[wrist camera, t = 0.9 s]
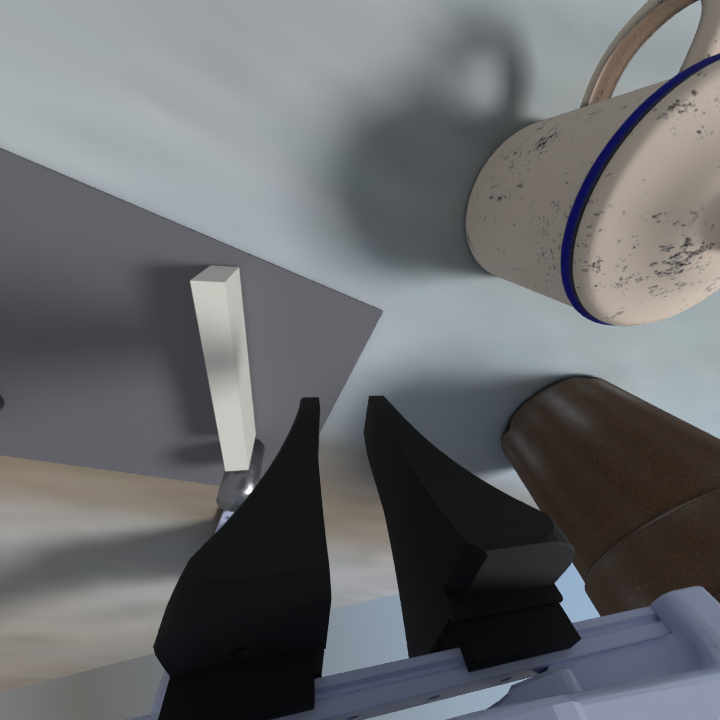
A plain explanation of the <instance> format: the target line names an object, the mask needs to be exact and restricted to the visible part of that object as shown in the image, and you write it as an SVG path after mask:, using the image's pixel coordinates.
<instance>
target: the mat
mask: <svg viewBox="0 0 720 720" xmlns="http://www.w3.org/2000/svg"><path fill="white" fill-rule="evenodd" d="M211 265H215V266H230V267H239V271H240V281H241V291H242V301H243V311H244V321H245V331H246V341H247V351H248V361H249V371H250V381H251V391H252V400H253V410H254V420H255V430H256V436H255V438H256V439H258V440H260V441H261V442H262V443H263V444H264V447H265V450H264V457H263V463H262V469H261V476H260V479H261V478H262V477H263V475H264V474H265V473H266V471H267V470H268V468H269V467H270V465H271V464H272V462H273V460H274V459H275V457H276V455H277V454H278V452H279V450H280V448H281V447H282V445H283V443H284V441H285V439H286V437H287V436H288V433H289V431H290V429H291V427H292V425H293V422H294V420H295V418H296V415H297V412H298V409H299V405H300V400H301V399H302V398H303V397H319V402H320V426H319V433H320V431H321V429H322V427H323V425H324V423H325V421H326V419H327V418H328V416H329V414H330V412H331V410H332V408H333V406H334V404H335V402H336V400H337V399H338V397H339V395H340V393H341V391H342V389H343V387H344V385H345V383H346V381H347V379H348V378H349V376H350V374H351V372H352V370H353V368H354V366H355V364H356V362H357V360H358V358H359V357H360V355H361V353H362V351H363V349H364V347H365V345H366V343H367V341H368V339H369V338H370V336H371V334H372V332H373V330H374V328H375V326H376V324H377V322H378V320H379V318H380V317H381V315H382V313H383V311H382V310H380V309H378V308H375V307H373V306H371V305H368V304H366V303H364V302H361V301H359V300H357V299H354V298H352V297H350V296H347V295H345V294H343V293H340V292H338V291H335V290H333V289H331V288H328V287H326V286H324V285H321V284H319V283H317V282H314V281H312V280H310V279H307V278H305V277H303V276H300V275H298V274H296V273H293V272H291V271H288V270H286V269H284V268H281V267H279V266H277V265H274V264H272V263H270V262H267V261H265V260H263V259H260V258H258V257H256V256H253V255H251V254H249V253H246V252H244V251H241V250H239V249H237V248H234V247H232V246H230V245H227V244H225V243H223V242H220V241H218V240H216V239H213V238H211V237H209V236H206V235H204V234H202V233H199V232H197V231H194V230H192V229H190V228H187V227H185V226H183V225H180V224H178V223H176V222H173V221H171V220H169V219H166V218H164V217H162V216H159V215H157V214H155V213H152V212H150V211H147V210H145V209H143V208H140V207H138V206H136V205H133V204H131V203H129V202H126V201H124V200H122V199H119V198H117V197H115V196H112V195H110V194H108V193H105V192H103V191H100V190H98V189H96V188H93V187H91V186H89V185H86V184H84V183H82V182H79V181H77V180H75V179H72V178H70V177H68V176H65V175H63V174H61V173H58V172H56V171H54V170H51V169H49V168H46V167H44V166H42V165H39V164H37V163H35V162H32V161H30V160H28V159H25V158H23V157H21V156H18V155H16V154H14V153H11V152H9V151H7V150H4V149H2V148H0V395H1V396H2V397H3V399H4V403H5V404H4V407H3V408H2V409H1V410H0V455H3V456H11V457H18V458H25V459H32V460H39V461H47V462H54V463H61V464H68V465H75V466H83V467H90V468H97V469H104V470H112V471H119V472H126V473H133V474H140V475H148V476H155V477H162V478H169V479H176V480H184V481H191V482H198V483H205V484H212V485H221V482H222V479H223V475H224V472H225V467H224V461H223V456H222V450H221V445H220V440H219V434H218V429H217V424H216V418H215V413H214V407H213V402H212V397H211V391H210V386H209V380H208V375H207V370H206V364H205V359H204V354H203V348H202V343H201V337H200V332H199V327H198V321H197V316H196V310H195V305H194V300H193V294H192V289H191V284H190V280H191V279H193V278H194V277H196V276H197V275H198V274H200V273H201V272H202V271H204V270H205V269H207V268H208V267H209V266H211Z"/></svg>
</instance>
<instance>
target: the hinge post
mask: <svg viewBox="0 0 720 720" xmlns="http://www.w3.org/2000/svg"><path fill="white" fill-rule="evenodd" d="M264 450H265V447H264V444H263V443H262V442H261V441H260V440H258V439H256V438H255V441H254V446H253V450H252V455H251V460H250V465H249V470H239V471H225V472H224V475H223V479H222V482H221V485H220V489H219V492H218V496H217V499H216V501H217V504H218V506H219V507H220V508H222V509H224V510H226V511H230V512H235V511H236V510H237V508H238V507H239V506H240V505H241V504H242V503H243V502H244V500H245V499H246V498H247V497H248V495H249V494H250V493H251V492H252V490H253V489H254V488H255V486H256V485H257V484H258V482H259V481H260V476H261V469H262V463H263V457H264Z"/></svg>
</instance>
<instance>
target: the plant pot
mask: <svg viewBox="0 0 720 720" xmlns="http://www.w3.org/2000/svg"><path fill="white" fill-rule="evenodd" d="M502 447H503V450H504V453H505V455H506V457H507V458H508V460H509V461H510V463H511V464H512V466H513V468H514V469H515V471H516V472H517V474H518V475H519V477H520V479H521V480H522V482H523V483H524V485H525V487H526V488H527V490H528V491H529V493H530V494H531V496H532V498H533V499H534V501H535V502H536V504H537V506H538V507H539V509H540V510H541V512H544V513H546V514H548V515H549V516H550V517H551V518H552V520H553V521H554V522H555V523H556V525H557V526H558V527H559V529H560V530H561V531H562V533H563V534H564V535H565V536H566V538H567V539H568V540H569V542H570V543H571V544H572V545H573V547H574V550H575V555H574V559H573V564H574V566H575V567H576V569H577V570H578V572H579V574H580V575H581V577H582V579H583V580H584V582H585V591H586V593H587V595H588V597H589V598H590V600H591V601H592V603H593V605H594V606H595V608H596V610H597V611H598V613H599V614H600V616H601V617H602V616H607V615H612V614H616V613H621V612H625V611H630V610H635V609H639V608H644V607H648V606H651V603H652V602H654V601H655V600H656V599H657V598H659V597H660V596H662V595H664V594H666V593H668V592H671V591H674V590H679V589H684V588H689V587H694V586H701V587H703V588H704V589H705V590H706V591H707V592H708V593H709V594H710V595H711V596H712V597H713V598H714V599H715V600H716V601H718V602H719V603H720V439H718V438H716V437H714V436H712V435H710V434H709V433H707V432H705V431H703V430H701V429H699V428H697V427H695V426H693V425H691V424H689V423H687V422H685V421H683V420H681V419H679V418H677V417H675V416H673V415H671V414H669V413H667V412H665V411H663V410H662V409H660V408H658V407H656V406H654V405H652V404H650V403H648V402H646V401H644V400H642V399H640V398H638V397H636V396H634V395H632V394H631V393H629V392H627V391H625V390H623V389H621V388H619V387H617V386H615V385H613V384H611V383H609V382H607V381H605V380H603V379H601V378H598V377H593V378H592V379H591V378H580V377H574V378H570V379H566V380H563V381H560V382H558V383H556V384H554V385H552V386H549V387H547V388H546V389H544V390H542V391H540V392H539V393H537V394H536V395H534V396H533V397H532V398H530V399H529V400H528V401H527V402H525V403H524V404H523V405H522V406H521V407H520V408H519V409H518V410H517V411H516V412H515V414H514V415H513V416H512V418H511V423H510V429H509V430H508V432H506V433H504V434H503V438H502Z"/></svg>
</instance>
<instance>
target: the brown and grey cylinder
mask: <svg viewBox="0 0 720 720" xmlns="http://www.w3.org/2000/svg"><path fill="white" fill-rule="evenodd" d="M4 404H5V403H4V399H3V397H2V396H1V395H0V410H1V409H2V408H3V407H4Z"/></svg>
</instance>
